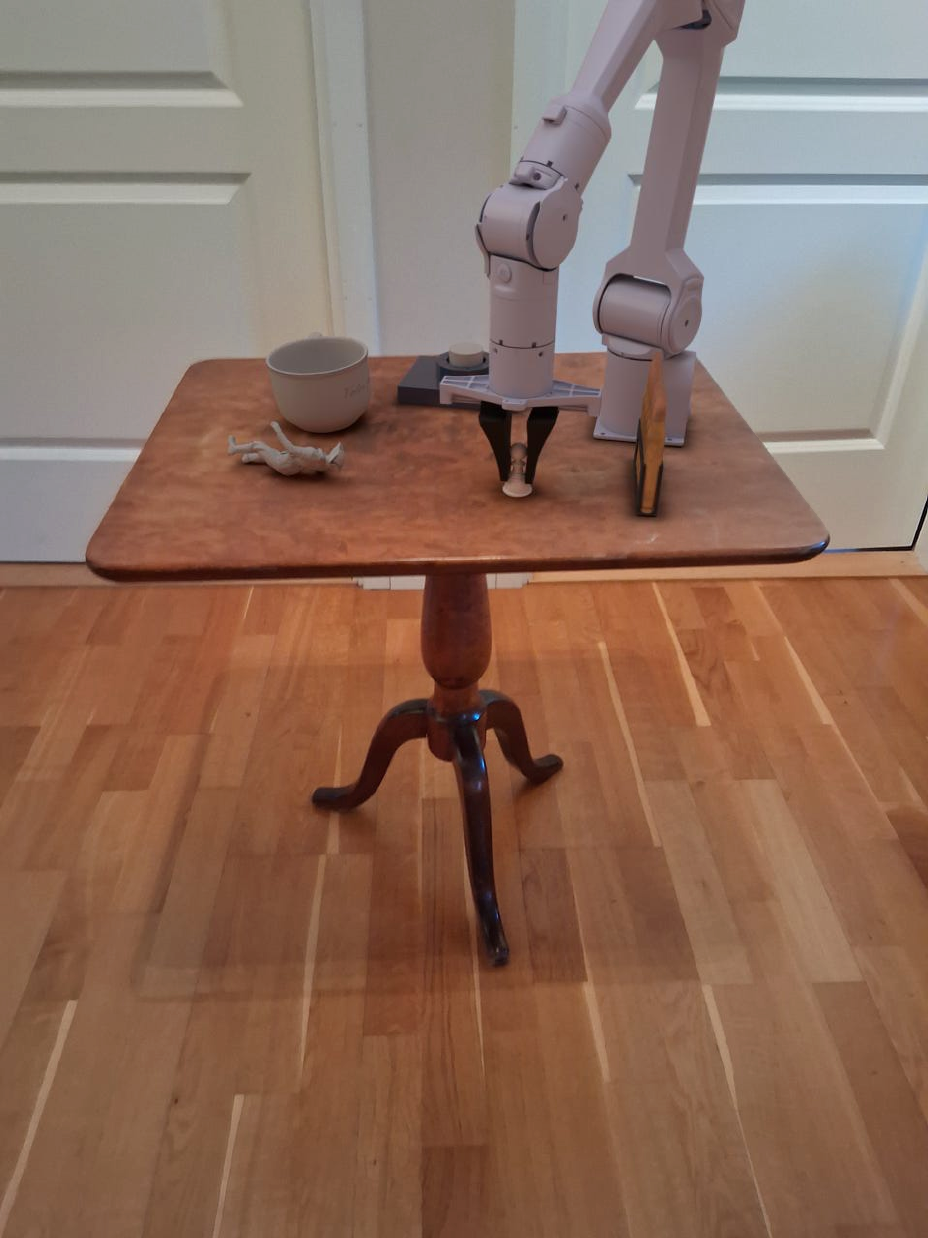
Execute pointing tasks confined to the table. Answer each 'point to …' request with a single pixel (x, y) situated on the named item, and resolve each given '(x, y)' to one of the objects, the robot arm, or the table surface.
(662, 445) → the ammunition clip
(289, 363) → the teacup
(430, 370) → the dark ring socket base
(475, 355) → the pale grey cylinder
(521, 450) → the chess pawn
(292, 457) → the soldier figure
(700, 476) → the table surface
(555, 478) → the table surface
